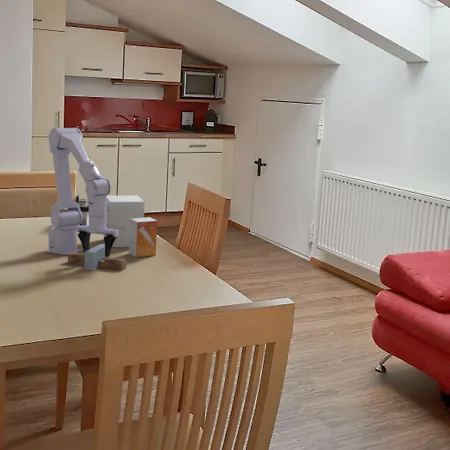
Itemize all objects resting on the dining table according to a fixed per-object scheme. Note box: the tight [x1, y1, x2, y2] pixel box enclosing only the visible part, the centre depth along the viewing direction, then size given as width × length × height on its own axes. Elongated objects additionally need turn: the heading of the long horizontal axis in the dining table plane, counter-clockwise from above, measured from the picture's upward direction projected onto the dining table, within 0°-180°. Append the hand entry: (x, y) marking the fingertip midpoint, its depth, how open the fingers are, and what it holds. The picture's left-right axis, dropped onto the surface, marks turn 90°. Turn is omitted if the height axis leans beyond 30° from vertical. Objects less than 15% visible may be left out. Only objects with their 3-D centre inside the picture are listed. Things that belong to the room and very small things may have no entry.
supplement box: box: [103, 195, 145, 248], centre depth 246 cm, size 13×13×18 cm
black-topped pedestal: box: [68, 194, 89, 226], centre depth 268 cm, size 28×26×13 cm
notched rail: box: [67, 252, 127, 271], centre depth 217 cm, size 20×3×3 cm, turn 74°
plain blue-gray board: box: [84, 243, 110, 271], centre depth 216 cm, size 3×12×6 cm, turn 164°
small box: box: [128, 216, 158, 258], centre depth 232 cm, size 8×6×13 cm
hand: (96, 254), depth 216 cm, fingers open, 7 cm apart
